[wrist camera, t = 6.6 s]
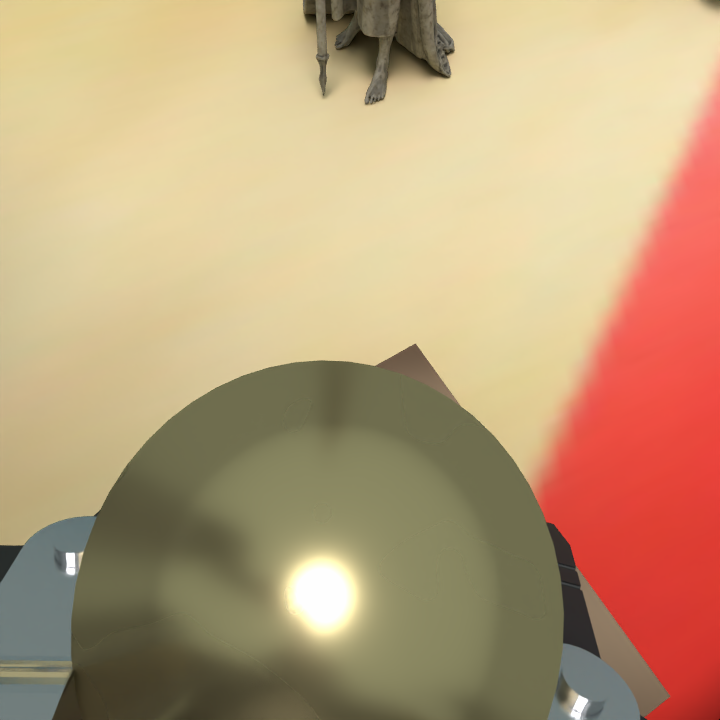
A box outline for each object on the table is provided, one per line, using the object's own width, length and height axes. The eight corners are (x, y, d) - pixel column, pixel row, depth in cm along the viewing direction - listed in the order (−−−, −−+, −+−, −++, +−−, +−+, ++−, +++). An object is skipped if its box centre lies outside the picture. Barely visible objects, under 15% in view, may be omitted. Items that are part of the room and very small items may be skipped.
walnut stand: (110, 543, 19) (74, 533, 16) (410, 373, 21) (415, 343, 19) (273, 964, 14) (256, 1029, 12) (629, 685, 17) (670, 696, 14)
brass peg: (232, 570, 15) (8, 496, 5) (374, 484, 16) (393, 295, 6) (313, 739, 13) (192, 1057, 4) (464, 634, 14) (670, 679, 5)
